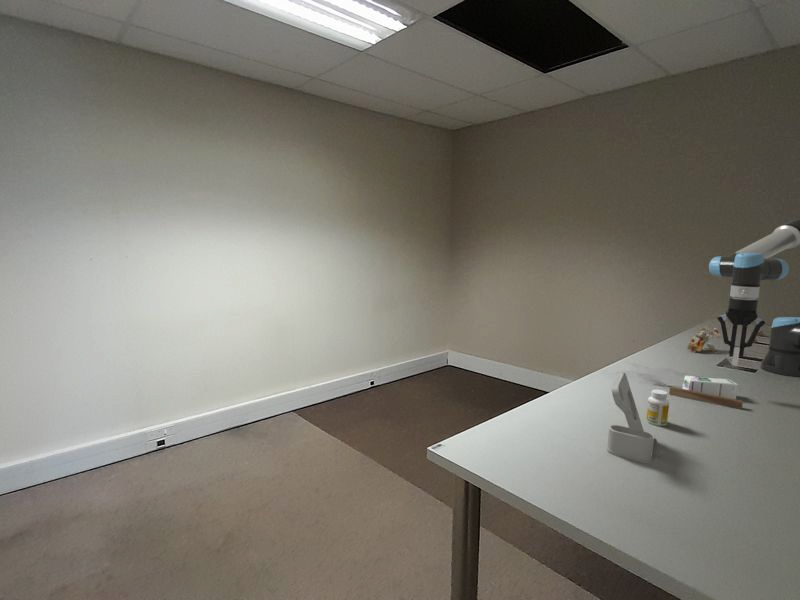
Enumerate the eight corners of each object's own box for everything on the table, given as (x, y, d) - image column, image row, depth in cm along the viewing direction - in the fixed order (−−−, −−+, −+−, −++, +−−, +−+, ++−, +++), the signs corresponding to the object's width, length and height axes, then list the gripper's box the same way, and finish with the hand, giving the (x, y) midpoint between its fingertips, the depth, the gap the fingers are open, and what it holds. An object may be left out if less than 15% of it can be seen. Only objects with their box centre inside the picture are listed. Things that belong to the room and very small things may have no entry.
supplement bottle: (664, 419, 125) (667, 389, 124) (669, 427, 120) (672, 396, 119) (644, 417, 127) (647, 387, 125) (648, 424, 122) (651, 393, 120)
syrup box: (738, 384, 140) (690, 379, 144) (736, 400, 141) (688, 395, 145) (729, 378, 146) (683, 374, 149) (727, 394, 146) (681, 389, 150)
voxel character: (683, 353, 205) (697, 337, 211) (705, 363, 198) (719, 345, 204) (689, 337, 198) (703, 321, 204) (711, 347, 191) (726, 329, 197)
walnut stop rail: (669, 392, 147) (670, 386, 147) (741, 407, 135) (742, 400, 134) (669, 394, 146) (669, 388, 145) (741, 409, 133) (742, 402, 133)
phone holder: (650, 465, 100) (657, 395, 97) (604, 453, 106) (610, 386, 103) (654, 437, 114) (661, 375, 112) (614, 427, 120) (619, 368, 117)
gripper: (719, 297, 141) (710, 363, 144) (769, 301, 133) (759, 371, 136) (719, 295, 147) (712, 358, 150) (768, 298, 138) (758, 365, 142)
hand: (734, 364), depth 143 cm, fingers closed
